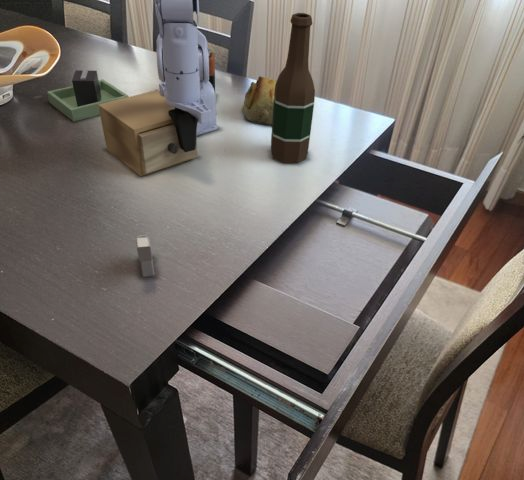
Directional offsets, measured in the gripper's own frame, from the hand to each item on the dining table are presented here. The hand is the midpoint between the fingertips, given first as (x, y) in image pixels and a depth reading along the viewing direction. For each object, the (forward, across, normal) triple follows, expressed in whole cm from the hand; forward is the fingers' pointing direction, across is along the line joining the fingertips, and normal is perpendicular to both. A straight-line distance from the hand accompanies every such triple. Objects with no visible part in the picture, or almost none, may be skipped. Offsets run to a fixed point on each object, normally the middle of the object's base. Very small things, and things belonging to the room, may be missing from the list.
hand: (187, 148), depth 90 cm
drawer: (+3, +6, +4) cm, 7 cm away
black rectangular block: (+2, +35, +5) cm, 36 cm away
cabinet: (+3, +8, +4) cm, 10 cm away
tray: (+3, +35, +5) cm, 36 cm away
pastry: (+3, +11, -27) cm, 29 cm away
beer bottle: (+4, -6, -20) cm, 21 cm away
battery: (+3, +27, -19) cm, 33 cm away
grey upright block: (+4, -24, +21) cm, 33 cm away
